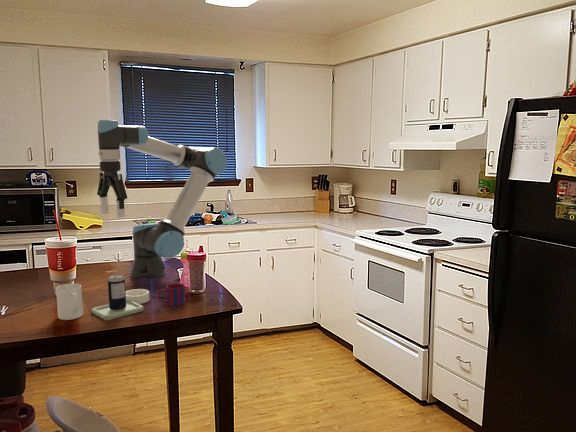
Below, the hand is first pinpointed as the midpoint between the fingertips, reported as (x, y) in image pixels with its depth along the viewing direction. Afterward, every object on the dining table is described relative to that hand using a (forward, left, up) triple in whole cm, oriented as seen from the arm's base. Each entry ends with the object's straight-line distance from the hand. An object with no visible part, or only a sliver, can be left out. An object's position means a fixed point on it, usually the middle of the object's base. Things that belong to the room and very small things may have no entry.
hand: (112, 215), depth 199 cm
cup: (-7, +29, -31) cm, 43 cm away
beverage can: (+11, +23, -30) cm, 39 cm away
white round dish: (0, +16, -31) cm, 35 cm away
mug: (+25, +18, -31) cm, 43 cm away
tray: (+11, +23, -31) cm, 40 cm away
